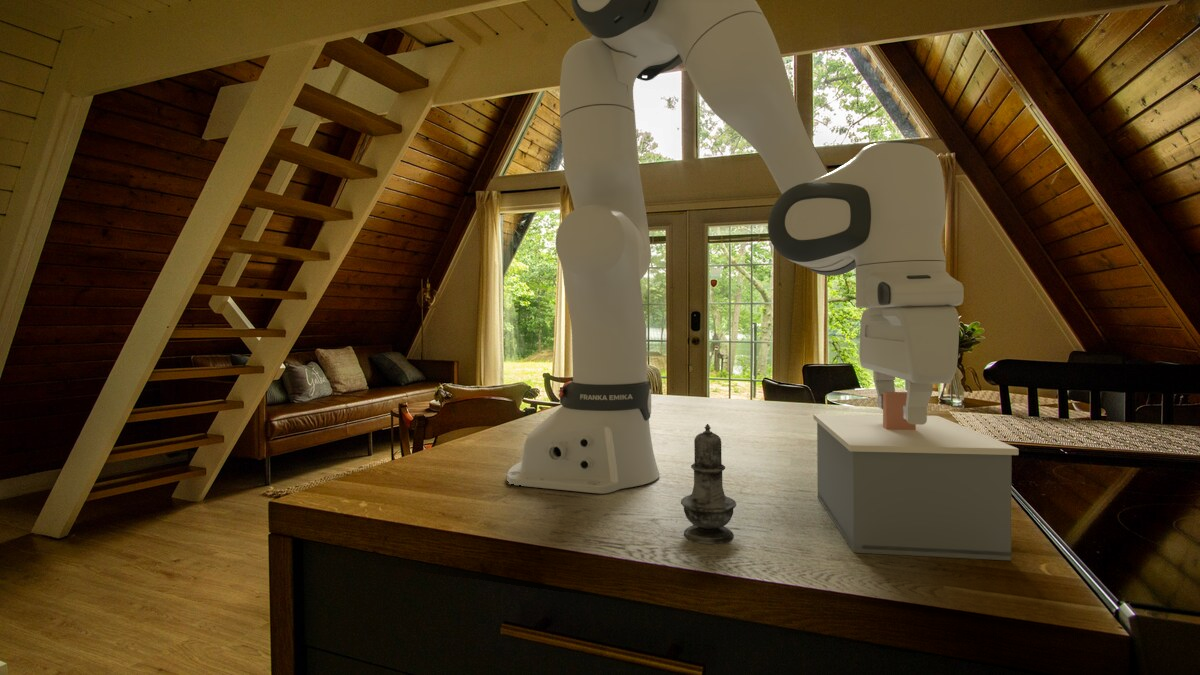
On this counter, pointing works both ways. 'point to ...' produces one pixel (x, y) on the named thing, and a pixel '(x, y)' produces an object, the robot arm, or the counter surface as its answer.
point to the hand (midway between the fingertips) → (900, 416)
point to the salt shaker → (708, 494)
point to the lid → (907, 432)
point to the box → (917, 501)
